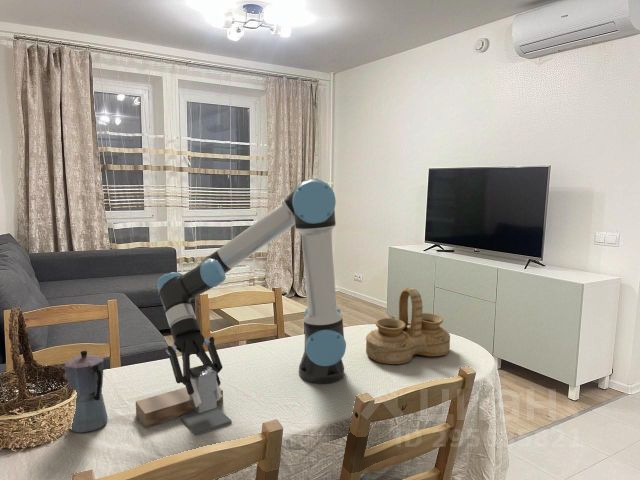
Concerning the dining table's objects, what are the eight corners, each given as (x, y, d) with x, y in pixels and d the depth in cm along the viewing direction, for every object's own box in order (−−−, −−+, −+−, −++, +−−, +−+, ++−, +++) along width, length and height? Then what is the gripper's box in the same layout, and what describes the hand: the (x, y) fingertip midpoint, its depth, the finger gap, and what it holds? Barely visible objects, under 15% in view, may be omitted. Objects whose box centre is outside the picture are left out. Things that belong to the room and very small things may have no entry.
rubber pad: (215, 407, 132) (215, 405, 132) (231, 423, 124) (231, 420, 124) (180, 418, 126) (180, 416, 126) (196, 435, 118) (196, 432, 118)
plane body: (211, 392, 141) (210, 380, 140) (223, 403, 135) (222, 390, 134) (136, 415, 127) (135, 401, 127) (145, 428, 121) (145, 413, 121)
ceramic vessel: (384, 371, 159) (387, 300, 155) (356, 352, 175) (358, 287, 171) (460, 355, 174) (465, 290, 170) (428, 339, 190) (431, 279, 186)
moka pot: (92, 408, 130) (89, 340, 127) (124, 426, 122) (120, 353, 119) (57, 422, 123) (52, 350, 120) (88, 443, 114) (83, 366, 111)
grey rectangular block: (189, 403, 125) (189, 368, 124) (207, 398, 128) (206, 364, 127) (198, 413, 121) (198, 376, 119) (216, 407, 124) (216, 371, 122)
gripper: (209, 324, 139) (235, 397, 129) (147, 336, 128) (171, 417, 118) (216, 311, 135) (244, 386, 124) (154, 322, 123) (179, 406, 113)
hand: (209, 401), depth 121 cm, fingers closed on grey rectangular block, 5 cm apart
